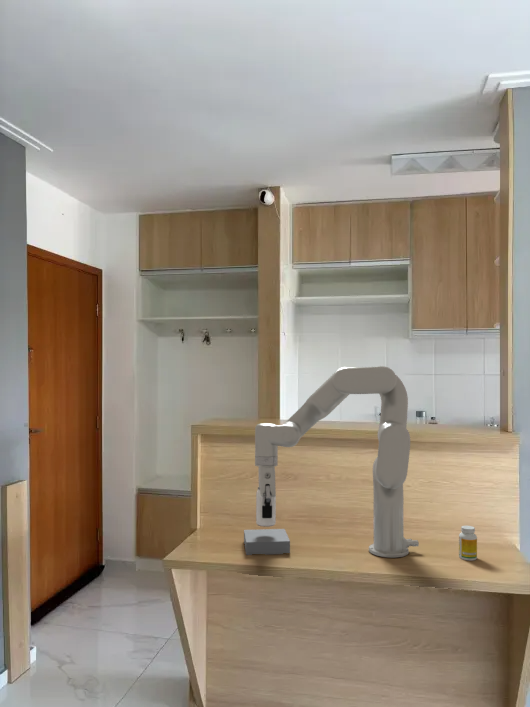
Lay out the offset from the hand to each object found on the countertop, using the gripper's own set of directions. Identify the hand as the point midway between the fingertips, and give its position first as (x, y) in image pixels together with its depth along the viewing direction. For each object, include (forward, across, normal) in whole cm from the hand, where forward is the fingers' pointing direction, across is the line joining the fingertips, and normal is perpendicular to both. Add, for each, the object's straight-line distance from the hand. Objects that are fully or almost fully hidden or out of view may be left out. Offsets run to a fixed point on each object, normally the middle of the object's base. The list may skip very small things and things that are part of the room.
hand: (266, 514), depth 191 cm
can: (+3, 0, 0) cm, 3 cm away
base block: (+11, 0, 0) cm, 11 cm away
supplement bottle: (+11, -16, -62) cm, 65 cm away
